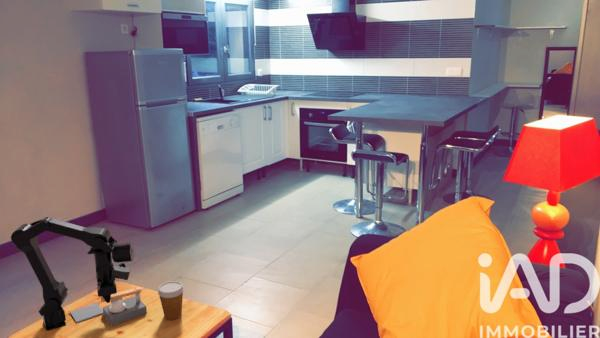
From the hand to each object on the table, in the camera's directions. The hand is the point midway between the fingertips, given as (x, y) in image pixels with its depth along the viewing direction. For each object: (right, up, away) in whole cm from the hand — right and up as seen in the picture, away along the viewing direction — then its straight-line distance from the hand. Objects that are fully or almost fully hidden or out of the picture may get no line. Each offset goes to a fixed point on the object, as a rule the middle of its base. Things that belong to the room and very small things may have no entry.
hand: (108, 302), depth 172 cm
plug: (+2, -6, +4) cm, 8 cm away
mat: (-11, -6, +6) cm, 14 cm away
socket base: (+4, -6, +5) cm, 9 cm away
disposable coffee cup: (+23, -6, +4) cm, 24 cm away
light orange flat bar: (+3, +1, +4) cm, 5 cm away
